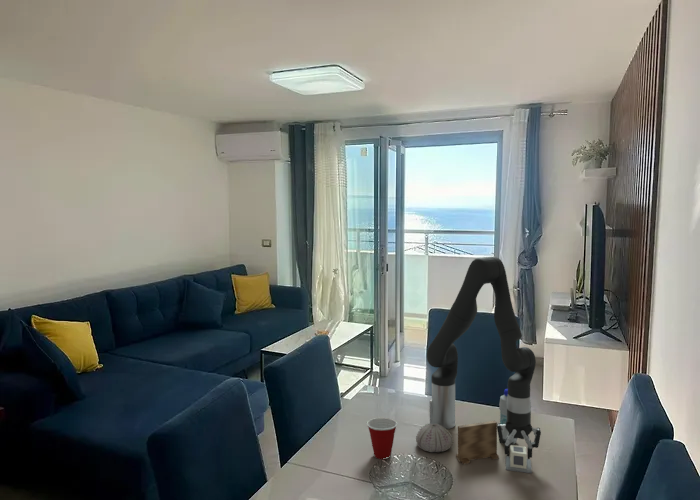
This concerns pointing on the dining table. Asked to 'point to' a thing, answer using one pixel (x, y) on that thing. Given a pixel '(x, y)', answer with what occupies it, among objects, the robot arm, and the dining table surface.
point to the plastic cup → (382, 436)
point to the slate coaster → (527, 470)
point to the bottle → (504, 414)
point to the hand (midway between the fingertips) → (518, 456)
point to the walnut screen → (477, 441)
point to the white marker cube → (518, 456)
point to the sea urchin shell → (434, 438)
